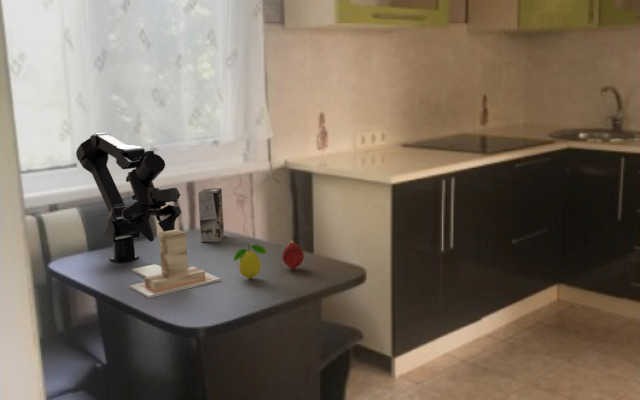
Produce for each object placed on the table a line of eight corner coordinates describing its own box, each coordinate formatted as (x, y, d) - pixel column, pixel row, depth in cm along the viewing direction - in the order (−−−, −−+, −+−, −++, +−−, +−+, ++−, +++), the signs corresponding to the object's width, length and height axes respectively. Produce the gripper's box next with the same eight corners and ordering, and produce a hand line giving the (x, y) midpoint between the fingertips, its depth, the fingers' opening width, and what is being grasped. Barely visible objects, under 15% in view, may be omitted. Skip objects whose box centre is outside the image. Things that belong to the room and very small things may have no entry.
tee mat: (109, 275, 182) (108, 273, 181) (176, 261, 194) (176, 259, 194) (148, 298, 162) (148, 295, 162) (220, 280, 175) (220, 278, 174)
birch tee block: (145, 284, 171) (141, 235, 168) (194, 273, 179) (191, 226, 177) (155, 290, 166) (151, 239, 164) (205, 278, 175) (202, 229, 172)
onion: (308, 268, 183) (307, 240, 182) (293, 273, 179) (292, 244, 177) (293, 265, 187) (292, 237, 186) (278, 269, 183) (277, 241, 181)
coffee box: (220, 241, 216) (217, 192, 213) (200, 242, 216) (197, 193, 213) (224, 235, 225) (222, 187, 222) (205, 235, 225) (202, 188, 222)
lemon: (267, 277, 176) (266, 240, 174) (254, 283, 171) (253, 245, 169) (247, 274, 180) (245, 238, 178) (233, 280, 175) (231, 243, 173)
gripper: (144, 172, 172) (164, 227, 168) (186, 178, 189) (205, 228, 186) (112, 191, 176) (131, 245, 172) (156, 196, 193) (174, 245, 189)
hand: (162, 240), depth 180 cm, fingers open, 9 cm apart
